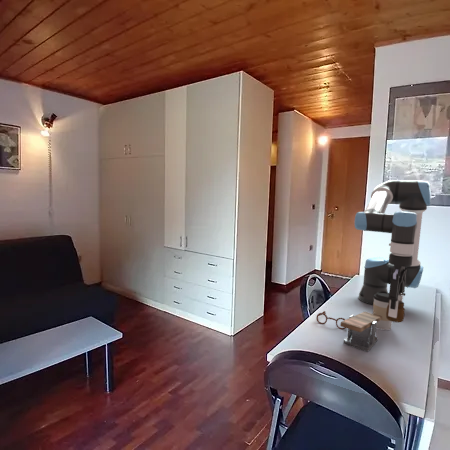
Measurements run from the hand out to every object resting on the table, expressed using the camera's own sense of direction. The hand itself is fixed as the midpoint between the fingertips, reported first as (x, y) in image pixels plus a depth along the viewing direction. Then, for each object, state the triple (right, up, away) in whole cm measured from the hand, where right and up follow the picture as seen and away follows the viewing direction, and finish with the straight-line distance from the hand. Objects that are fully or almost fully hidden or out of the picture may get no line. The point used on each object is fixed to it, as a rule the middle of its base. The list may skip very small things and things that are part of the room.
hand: (394, 314), depth 123 cm
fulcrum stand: (-11, -12, +5) cm, 17 cm away
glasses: (-14, -10, +24) cm, 30 cm away
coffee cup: (+5, -11, +20) cm, 23 cm away
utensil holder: (0, -2, 0) cm, 2 cm away
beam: (-11, -4, +4) cm, 12 cm away
